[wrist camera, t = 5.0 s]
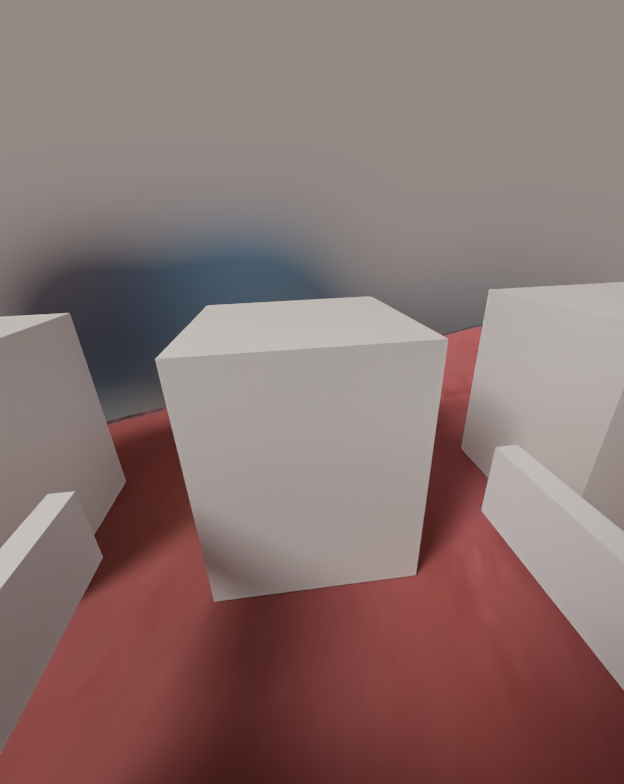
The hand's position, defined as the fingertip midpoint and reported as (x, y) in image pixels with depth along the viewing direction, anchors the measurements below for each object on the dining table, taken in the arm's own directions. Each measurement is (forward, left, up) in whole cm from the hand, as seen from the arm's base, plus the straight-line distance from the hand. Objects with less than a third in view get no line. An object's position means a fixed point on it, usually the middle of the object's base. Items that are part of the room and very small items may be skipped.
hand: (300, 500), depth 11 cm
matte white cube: (-17, -6, -6) cm, 19 cm away
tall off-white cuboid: (-1, -6, -6) cm, 9 cm away
